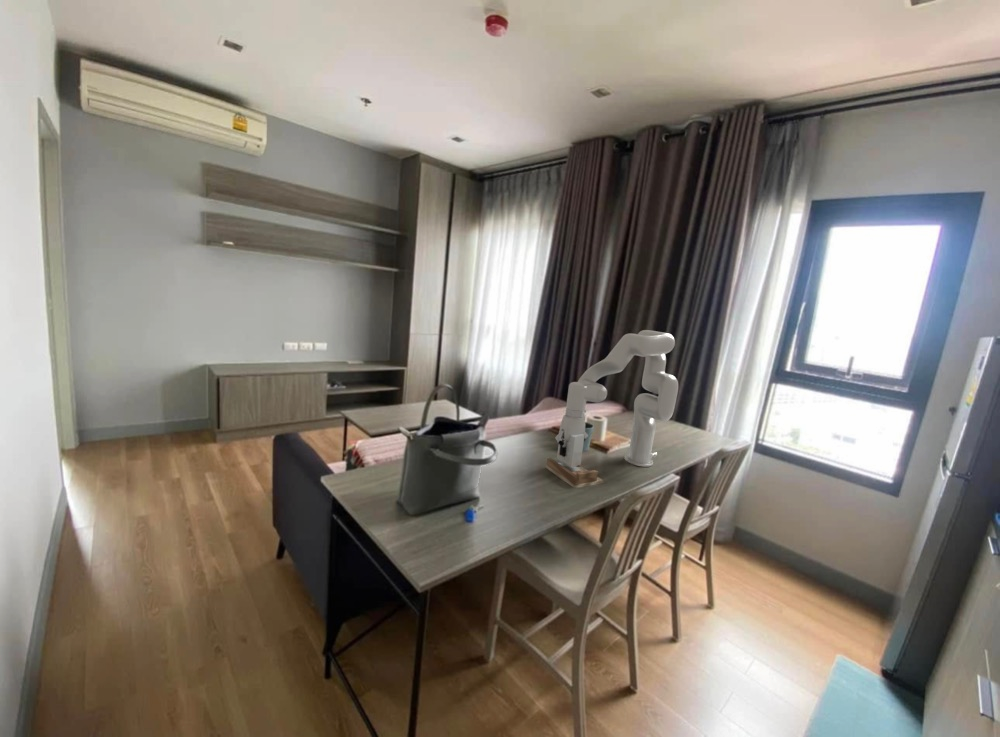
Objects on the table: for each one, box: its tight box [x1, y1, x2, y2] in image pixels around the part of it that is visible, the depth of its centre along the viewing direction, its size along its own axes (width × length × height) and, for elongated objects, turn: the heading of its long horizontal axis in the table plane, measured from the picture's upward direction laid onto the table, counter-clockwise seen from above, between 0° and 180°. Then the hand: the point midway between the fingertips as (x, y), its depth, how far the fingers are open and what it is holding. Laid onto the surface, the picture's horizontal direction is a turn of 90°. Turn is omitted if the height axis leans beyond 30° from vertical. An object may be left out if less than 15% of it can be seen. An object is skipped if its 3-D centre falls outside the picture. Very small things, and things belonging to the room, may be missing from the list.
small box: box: [556, 434, 584, 467], centre depth 169 cm, size 8×6×13 cm
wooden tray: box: [545, 457, 604, 489], centre depth 166 cm, size 14×19×5 cm
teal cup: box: [582, 421, 595, 452], centre depth 197 cm, size 10×10×12 cm
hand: (569, 454), depth 169 cm, fingers closed on small box, 7 cm apart
